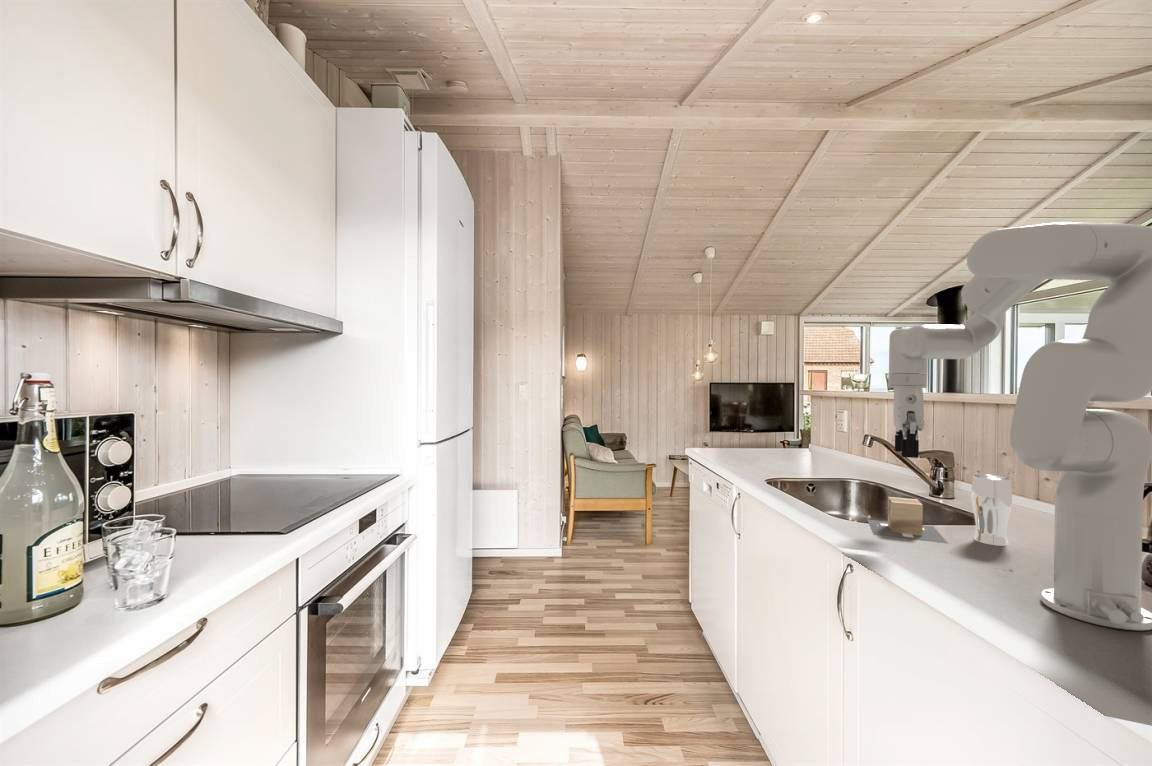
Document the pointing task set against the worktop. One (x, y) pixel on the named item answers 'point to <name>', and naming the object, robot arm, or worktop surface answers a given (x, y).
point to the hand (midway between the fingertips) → (906, 454)
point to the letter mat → (927, 534)
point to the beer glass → (991, 508)
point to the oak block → (905, 516)
